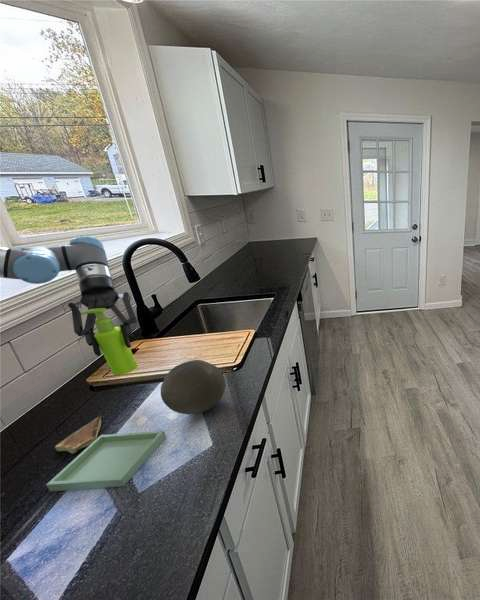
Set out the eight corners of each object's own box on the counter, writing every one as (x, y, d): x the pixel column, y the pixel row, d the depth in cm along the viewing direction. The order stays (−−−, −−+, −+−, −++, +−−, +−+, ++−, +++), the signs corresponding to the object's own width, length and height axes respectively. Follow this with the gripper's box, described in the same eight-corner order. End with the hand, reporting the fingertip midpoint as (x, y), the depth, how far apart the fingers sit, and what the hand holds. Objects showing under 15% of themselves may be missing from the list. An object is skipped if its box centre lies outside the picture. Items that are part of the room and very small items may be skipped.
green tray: (50, 491, 66) (45, 484, 65) (104, 440, 79) (101, 434, 78) (124, 486, 66) (120, 479, 66) (166, 436, 79) (163, 430, 78)
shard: (102, 419, 86) (100, 414, 86) (124, 422, 85) (122, 417, 84) (55, 451, 77) (52, 445, 76) (79, 455, 75) (75, 449, 74)
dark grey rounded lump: (183, 400, 92) (166, 356, 87) (235, 389, 96) (222, 346, 90) (164, 435, 80) (143, 386, 74) (225, 421, 83) (209, 374, 77)
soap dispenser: (118, 365, 97) (90, 306, 89) (142, 363, 97) (116, 304, 90) (104, 377, 91) (72, 315, 84) (129, 374, 92) (100, 312, 84)
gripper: (45, 283, 86) (60, 357, 80) (132, 269, 97) (151, 334, 91) (58, 296, 92) (73, 366, 86) (138, 281, 103) (156, 343, 97)
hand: (113, 349), depth 89 cm, fingers closed on soap dispenser, 6 cm apart
